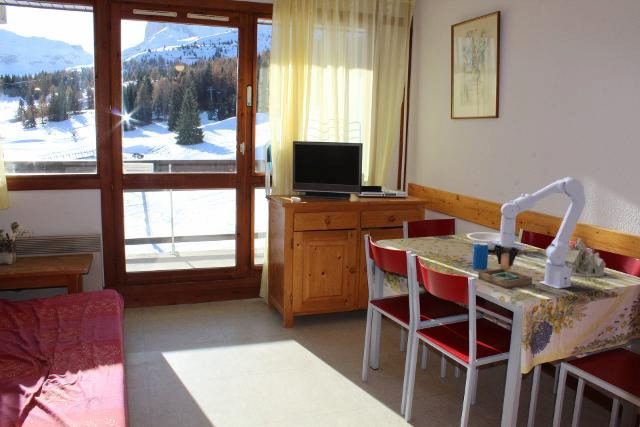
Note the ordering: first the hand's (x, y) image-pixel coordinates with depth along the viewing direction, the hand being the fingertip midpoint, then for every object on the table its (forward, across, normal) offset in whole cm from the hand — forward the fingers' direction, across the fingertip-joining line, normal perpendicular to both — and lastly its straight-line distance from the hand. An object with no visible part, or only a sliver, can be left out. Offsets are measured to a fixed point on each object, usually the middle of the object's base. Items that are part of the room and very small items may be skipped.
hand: (505, 264), depth 231 cm
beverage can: (+7, +16, -11) cm, 21 cm away
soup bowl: (+7, +31, -53) cm, 62 cm away
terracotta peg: (+2, 0, 0) cm, 2 cm away
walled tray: (+7, 0, 0) cm, 7 cm away
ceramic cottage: (+8, -19, -36) cm, 42 cm away
